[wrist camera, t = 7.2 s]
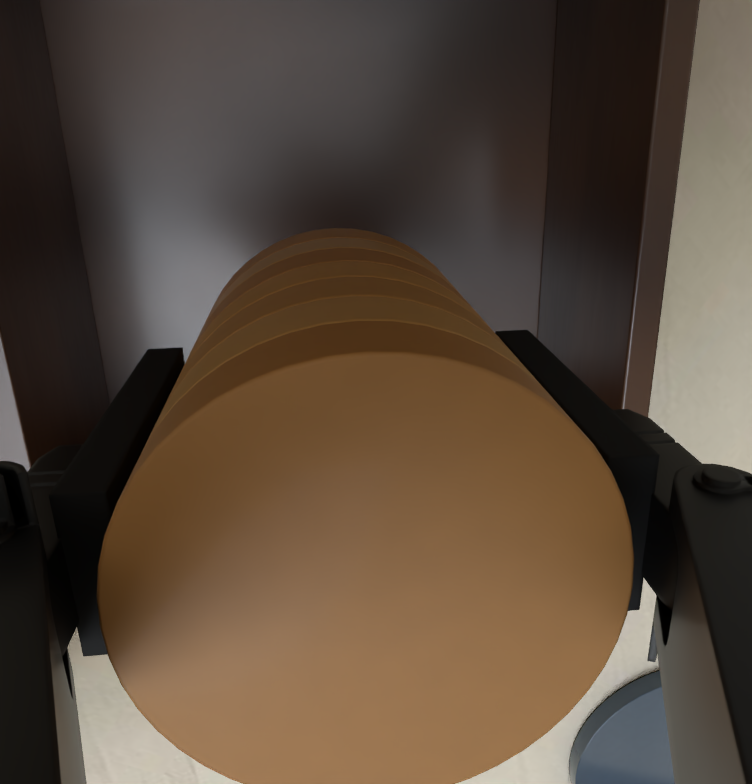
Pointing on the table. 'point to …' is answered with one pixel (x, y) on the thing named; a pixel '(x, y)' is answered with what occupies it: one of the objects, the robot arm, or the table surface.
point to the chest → (328, 173)
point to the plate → (625, 739)
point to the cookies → (360, 533)
